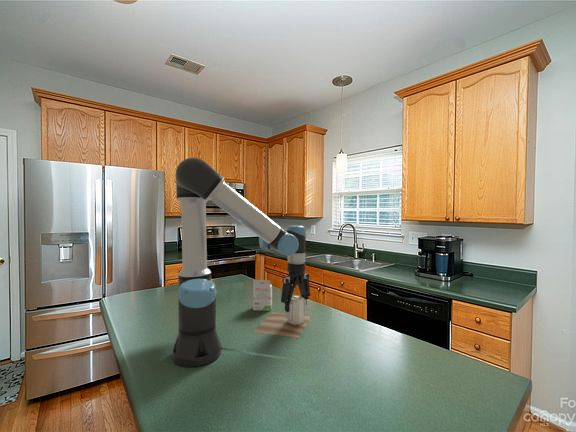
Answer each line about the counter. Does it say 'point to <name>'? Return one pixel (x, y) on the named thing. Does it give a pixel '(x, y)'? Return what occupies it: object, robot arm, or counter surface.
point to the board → (281, 326)
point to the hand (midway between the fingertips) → (295, 316)
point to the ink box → (262, 295)
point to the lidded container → (297, 310)
